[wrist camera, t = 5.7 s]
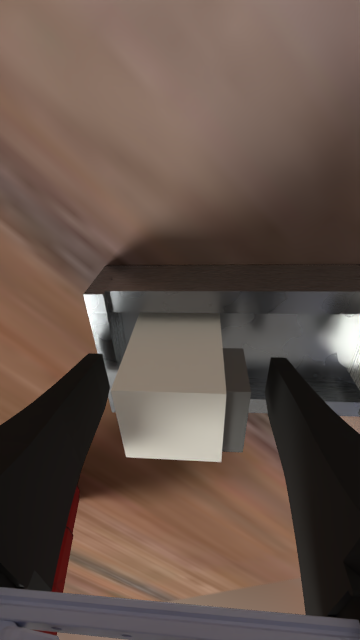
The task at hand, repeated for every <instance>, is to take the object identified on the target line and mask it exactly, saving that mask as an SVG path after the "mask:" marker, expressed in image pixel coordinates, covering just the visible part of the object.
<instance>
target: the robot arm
mask: <svg viewBox="0 0 360 640" xmlns="http://www.w3.org/2000/svg"><path fill="white" fill-rule="evenodd" d="M109 390H110V385H109V380H108V376H107V372H106V368H105V363H104V359H103V355H102V354H88V355H86V356H85V357H84V358H83V359H82V360H81V361H80V362H79V363H78V364H77V365H76V366H74V367H73V368H72V369H71V370H70V371H69V372H68V373H67V374H66V375H65V376H63V377H62V378H61V379H60V380H59V381H58V382H57V383H56V384H54V385H53V386H52V387H51V388H50V389H48V390H47V391H46V392H45V393H44V394H42V395H41V396H40V397H39V398H37V399H36V400H35V401H34V402H33V403H31V404H30V405H29V406H27V407H26V408H25V409H23V410H22V411H20V412H19V413H18V414H16V415H15V416H13V417H12V418H10V419H9V420H8V421H6V422H5V423H3V424H1V425H0V640H59V638H58V636H56V635H51V634H47V633H43V632H39V631H34V630H41V631H51V632H60V633H70V634H80V635H89V636H99V637H109V638H119V639H128V640H360V434H359V433H358V432H356V431H355V430H354V429H353V428H352V427H351V426H349V425H348V424H347V423H346V422H345V421H344V420H343V419H342V418H341V417H340V416H338V415H337V414H336V413H335V412H334V411H333V410H332V409H331V408H330V407H329V406H328V405H327V404H326V403H325V401H324V400H323V399H322V398H321V397H320V396H319V395H318V394H317V393H316V392H315V391H314V390H313V389H312V387H311V386H310V385H309V384H308V383H307V382H306V381H305V379H304V378H303V377H302V376H301V375H300V374H299V372H298V371H297V370H296V369H295V368H294V366H293V365H292V364H291V363H290V362H289V360H288V359H287V358H283V357H271V359H270V365H269V371H268V376H267V382H266V387H265V398H266V405H267V411H268V416H269V420H270V424H271V427H272V431H273V435H274V438H275V442H276V445H277V449H278V452H279V456H280V460H281V463H282V467H283V471H284V475H285V480H286V485H287V491H288V496H289V502H290V508H291V514H292V520H293V526H294V532H295V538H296V545H297V552H298V559H299V565H300V573H301V581H302V588H303V596H304V603H305V611H306V615H299V614H288V613H277V612H267V611H255V610H244V609H234V608H223V607H212V606H201V605H190V604H179V603H168V602H158V601H147V600H136V599H125V598H114V597H103V596H92V595H81V594H70V593H59V592H51V591H52V587H53V582H54V578H55V573H56V568H57V564H58V559H59V554H60V550H61V545H62V541H63V537H64V533H65V529H66V525H67V521H68V516H69V513H70V509H71V505H72V501H73V498H74V494H75V490H76V487H77V483H78V480H79V476H80V473H81V469H82V466H83V463H84V461H85V458H86V455H87V453H88V450H89V448H90V445H91V443H92V440H93V438H94V435H95V433H96V430H97V428H98V425H99V422H100V420H101V417H102V415H103V412H104V409H105V406H106V402H107V398H108V394H109ZM30 629H31V630H30Z"/></svg>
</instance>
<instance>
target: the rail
mask: <svg viewBox="0 0 360 640" xmlns="http://www.w3.org/2000/svg"><path fill="white" fill-rule="evenodd" d="M83 295H84V299H85V303H86V307H87V312H88V316H89V320H90V324H91V328H92V332H93V336H94V340H95V344H96V348H97V352H98V354H102V355H103V359H104V363H105V368H106V372H107V376H108V380H109V385H110V390H109V394H108V397H109V401H110V406H111V410H112V412H116V411H115V407H114V403H113V398H112V394H111V388H112V385H113V383H114V380H115V377H116V375H117V372H118V369H119V367H120V364H121V361H122V359H123V356H124V353H125V351H126V348H127V345H128V343H129V340H130V337H131V334H132V332H133V329H134V326H135V324H136V321H137V318H138V316H139V313H220V323H221V335H222V347H223V348H243V350H244V355H245V361H246V366H247V372H248V377H249V383H250V388H251V397H250V404H249V411H248V412H249V413H268V411H267V405H266V398H265V387H266V382H267V376H268V371H269V365H270V359H271V357H283V358H287V359H288V360H289V362H290V363H291V364H292V365H293V366H294V368H295V369H296V370H297V371H298V372H299V374H300V375H301V376H302V377H303V378H304V379H305V381H306V382H307V383H308V384H309V385H310V386H311V387H312V389H313V390H314V391H315V392H316V393H317V394H318V395H319V396H320V397H321V398H322V399H323V400H324V401H325V403H326V404H327V405H328V406H329V407H330V408H331V409H332V410H333V411H334V412H335V413H336V414H337V415H338V416H359V417H360V265H167V266H105V267H104V268H103V270H102V271H101V272H100V274H99V275H98V276H97V277H96V279H95V280H94V281H93V283H92V284H91V285H90V286H89V288H88V289H87V290H86V292H85V293H84V294H83Z"/></svg>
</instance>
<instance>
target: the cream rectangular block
mask: <svg viewBox="0 0 360 640" xmlns="http://www.w3.org/2000/svg"><path fill="white" fill-rule="evenodd" d="M111 394H112V398H113V403H114V407H115V411H116V416H117V420H118V424H119V428H120V433H121V437H122V441H123V446H124V450H125V454H126V457H132V458H152V459H171V460H191V461H210V462H221V458H222V451H224V452H243V446H244V439H245V432H246V425H247V418H248V411H249V404H250V397H251V388H250V383H249V377H248V372H247V366H246V361H245V355H244V350H243V348H223V347H222V335H221V323H220V313H139V316H138V318H137V321H136V324H135V326H134V329H133V332H132V334H131V337H130V340H129V343H128V345H127V348H126V351H125V353H124V356H123V359H122V361H121V364H120V367H119V369H118V372H117V375H116V377H115V380H114V383H113V385H112V388H111Z"/></svg>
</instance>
